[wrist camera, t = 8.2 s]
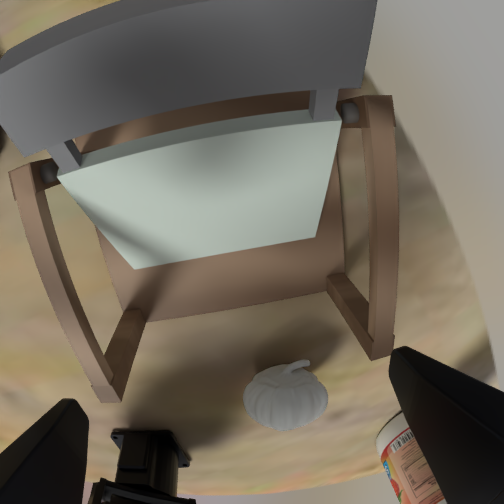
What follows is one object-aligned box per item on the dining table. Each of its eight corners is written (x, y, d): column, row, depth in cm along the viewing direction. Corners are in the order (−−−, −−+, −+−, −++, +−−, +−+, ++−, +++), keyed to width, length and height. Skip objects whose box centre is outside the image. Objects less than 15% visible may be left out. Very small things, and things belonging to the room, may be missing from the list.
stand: (342, 284, 22) (394, 354, 14) (130, 321, 21) (99, 403, 14) (323, 86, 17) (388, 60, 9) (78, 133, 16) (0, 139, 9)
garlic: (321, 399, 24) (325, 344, 23) (327, 442, 19) (335, 382, 18) (248, 399, 25) (246, 345, 24) (240, 441, 19) (236, 382, 18)
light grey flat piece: (308, 214, 20) (318, 248, 18) (134, 246, 19) (134, 281, 18) (341, -25, 7) (377, -2, 6) (7, 50, 6) (-23, 89, 5)
